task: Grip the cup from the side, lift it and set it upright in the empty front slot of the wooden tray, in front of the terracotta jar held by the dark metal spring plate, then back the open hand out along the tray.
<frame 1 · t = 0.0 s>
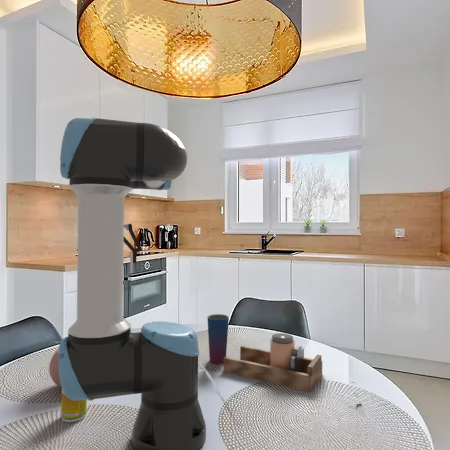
hand: (110, 273, 117), 28 cm above the table, tool pointing down, fingers open, 13 cm apart
pink round piece: (73, 387, 97), on the table
supplement bottle: (74, 417, 82), on the table
wooden tray: (272, 376, 104), on the table
jar: (282, 375, 103), point 1 cm above the table, touching wooden tray
spoon: (358, 406, 89), on the table
pusher: (297, 362, 101), point 6 cm above the table, slide at 0.0 cm
cup: (217, 364, 113), on the table
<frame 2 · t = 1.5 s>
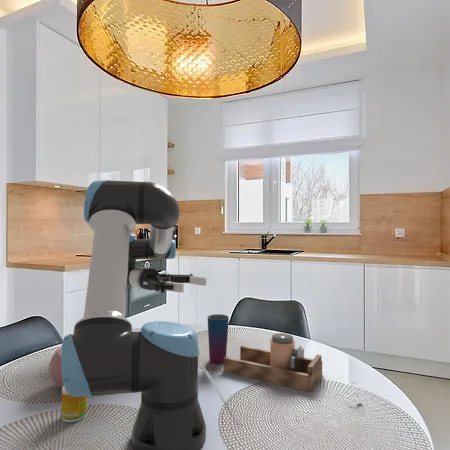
hand: (195, 284, 117), 25 cm above the table, tool horizontal, fingers open, 13 cm apart
nothing on the table moved.
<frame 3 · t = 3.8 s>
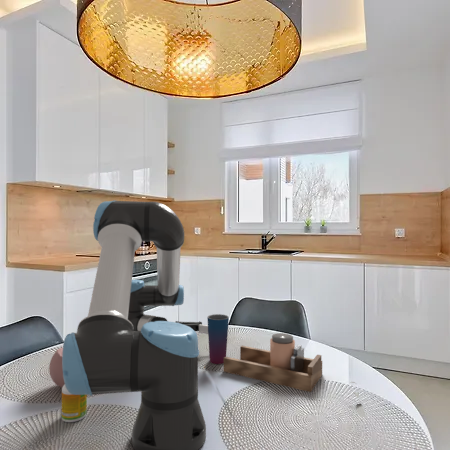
hand: (205, 336, 116), 8 cm above the table, tool horizontal, fingers open, 13 cm apart
nothing on the table moved.
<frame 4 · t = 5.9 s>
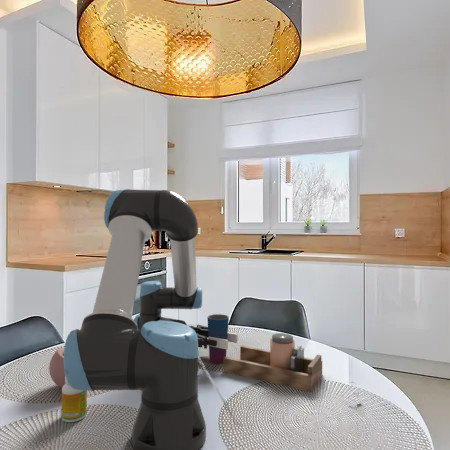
hand: (232, 341, 111), 8 cm above the table, tool horizontal, fingers closed on cup, 6 cm apart
cup: (217, 364, 113), on the table, touching gripper
everything else where it was.
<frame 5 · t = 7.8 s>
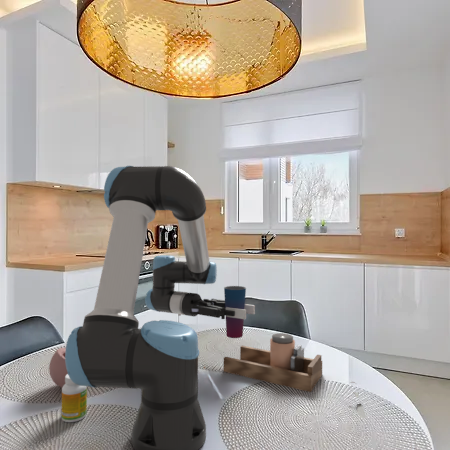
hand: (249, 312, 109), 18 cm above the table, tool horizontal, fingers closed on cup, 6 cm apart
cup: (234, 336, 111), point 9 cm above the table, touching gripper
everything else where it was.
when the fingers open (10 cm above the table, at t = 10.0 s): cup drops 1 cm, resting on wooden tray.
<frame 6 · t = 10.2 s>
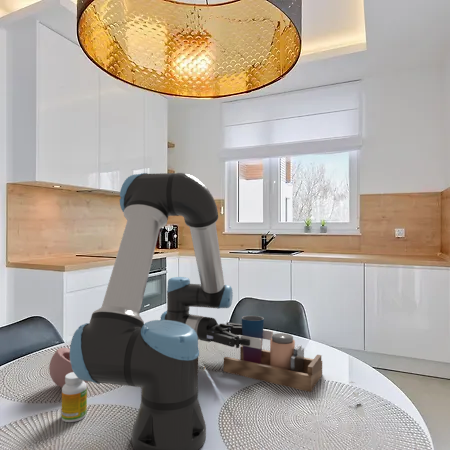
hand: (267, 339, 105), 10 cm above the table, tool horizontal, fingers open, 8 cm apart
cup: (252, 368, 107), point 1 cm above the table, touching wooden tray
everything else where it was.
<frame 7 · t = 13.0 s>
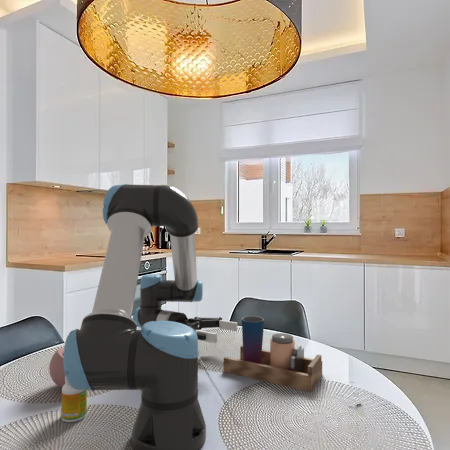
hand: (227, 332, 112), 11 cm above the table, tool horizontal, fingers open, 13 cm apart
nothing on the table moved.
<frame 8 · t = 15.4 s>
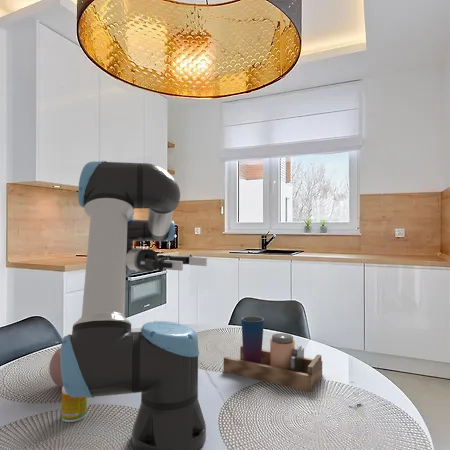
hand: (194, 263, 112), 32 cm above the table, tool horizontal, fingers open, 13 cm apart
nothing on the table moved.
at the end: cup 0.0 cm from the target spot on the wooden tray, point 0.8 cm above the wooden tray's base; cup tilted 0°; the gripper is holding nothing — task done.
